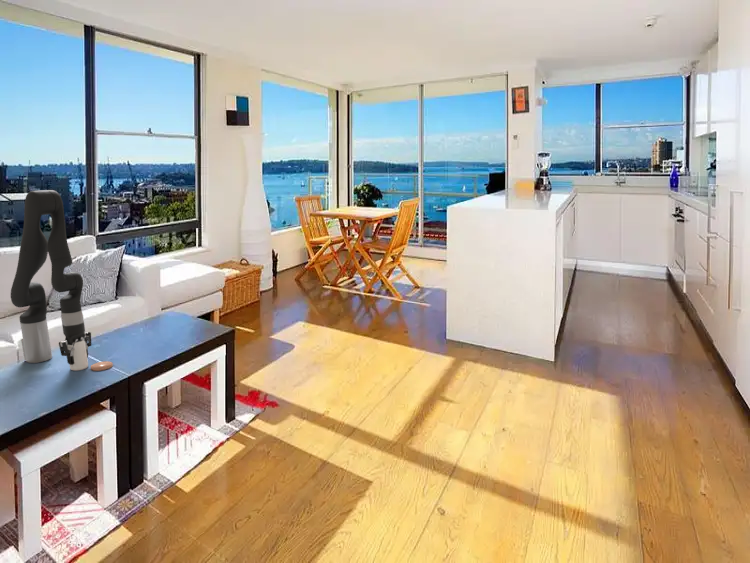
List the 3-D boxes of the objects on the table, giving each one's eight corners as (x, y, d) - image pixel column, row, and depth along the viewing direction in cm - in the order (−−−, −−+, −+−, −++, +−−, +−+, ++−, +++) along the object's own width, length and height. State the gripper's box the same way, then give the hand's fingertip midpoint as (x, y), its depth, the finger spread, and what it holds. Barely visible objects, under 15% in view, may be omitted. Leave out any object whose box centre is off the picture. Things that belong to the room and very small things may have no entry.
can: (91, 365, 208) (88, 337, 205) (81, 371, 201) (77, 343, 199) (77, 364, 208) (73, 337, 205) (66, 370, 202) (62, 342, 199)
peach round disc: (86, 369, 203) (85, 367, 203) (101, 362, 211) (100, 360, 210) (102, 371, 201) (102, 369, 201) (117, 364, 209) (117, 362, 209)
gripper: (79, 316, 208) (84, 353, 212) (49, 326, 194) (56, 366, 198) (94, 317, 206) (99, 355, 210) (65, 328, 193) (71, 368, 196)
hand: (78, 360), depth 204 cm, fingers closed on can, 6 cm apart
